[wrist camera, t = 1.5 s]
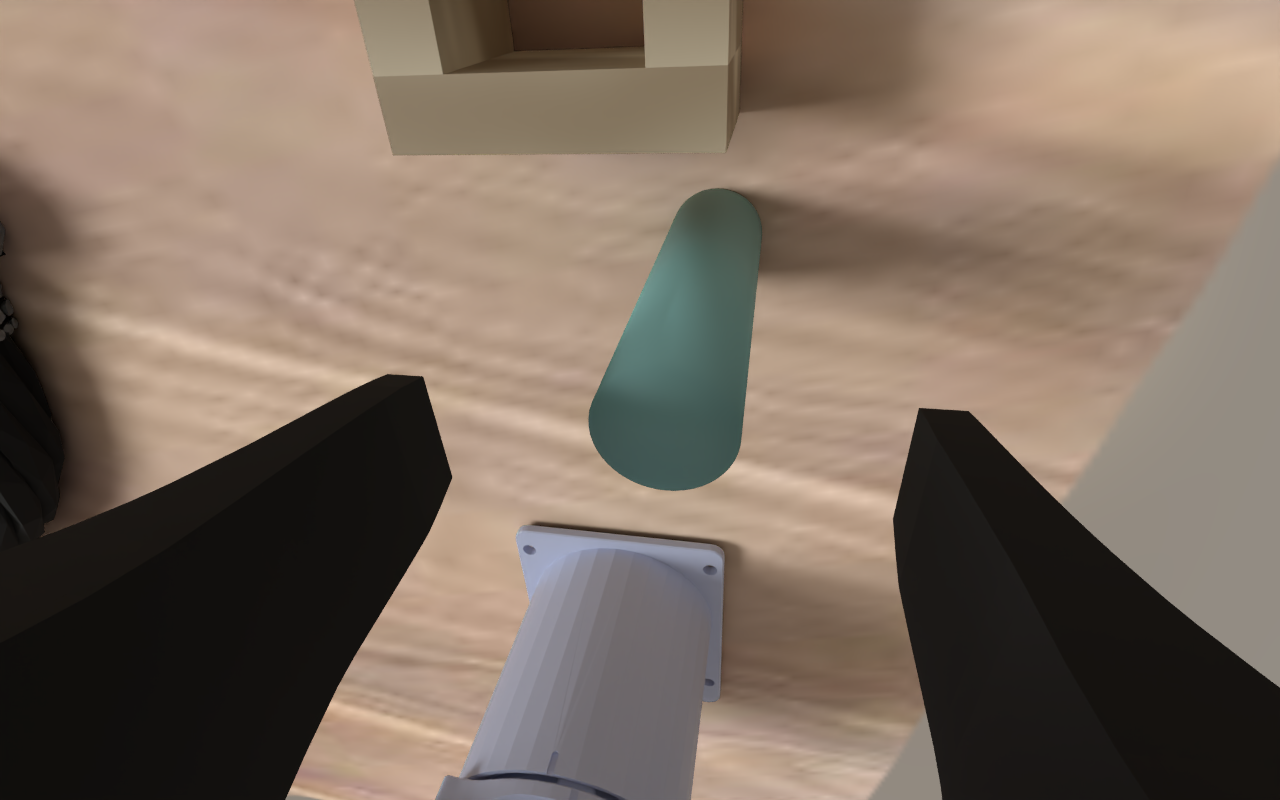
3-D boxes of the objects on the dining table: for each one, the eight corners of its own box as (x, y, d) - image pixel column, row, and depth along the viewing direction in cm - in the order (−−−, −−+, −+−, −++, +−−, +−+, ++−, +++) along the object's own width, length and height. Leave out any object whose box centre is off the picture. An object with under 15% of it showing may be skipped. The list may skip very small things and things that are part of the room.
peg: (759, 276, 18) (738, 496, 10) (673, 274, 18) (595, 483, 11) (764, 188, 16) (744, 369, 9) (671, 188, 17) (581, 361, 10)
